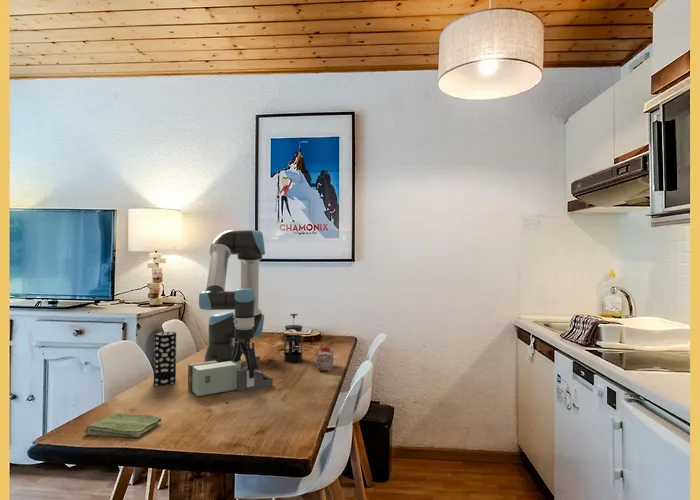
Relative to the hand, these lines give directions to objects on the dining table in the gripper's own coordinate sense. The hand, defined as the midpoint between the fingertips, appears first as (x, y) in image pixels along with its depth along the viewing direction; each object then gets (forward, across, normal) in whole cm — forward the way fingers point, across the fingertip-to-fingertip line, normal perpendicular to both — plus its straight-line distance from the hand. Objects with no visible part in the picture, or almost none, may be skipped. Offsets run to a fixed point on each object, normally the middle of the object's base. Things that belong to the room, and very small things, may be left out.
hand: (243, 382), depth 176 cm
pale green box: (+2, -3, -10) cm, 11 cm away
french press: (+3, -30, +38) cm, 49 cm away
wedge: (+3, 0, +4) cm, 5 cm away
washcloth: (+3, +18, -45) cm, 48 cm away
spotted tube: (+3, -25, -24) cm, 34 cm away
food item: (+3, -8, +43) cm, 44 cm away
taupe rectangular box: (+3, -8, -4) cm, 10 cm away
